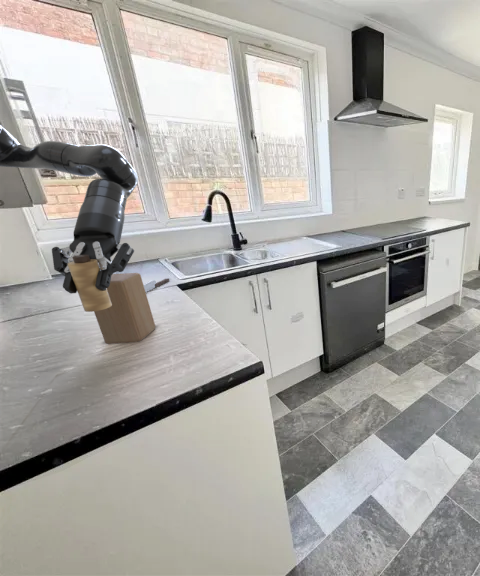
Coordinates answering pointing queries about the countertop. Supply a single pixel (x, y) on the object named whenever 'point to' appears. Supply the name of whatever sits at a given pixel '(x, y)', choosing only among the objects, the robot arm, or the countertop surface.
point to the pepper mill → (88, 283)
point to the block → (126, 311)
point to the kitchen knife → (154, 284)
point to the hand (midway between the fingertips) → (85, 290)
